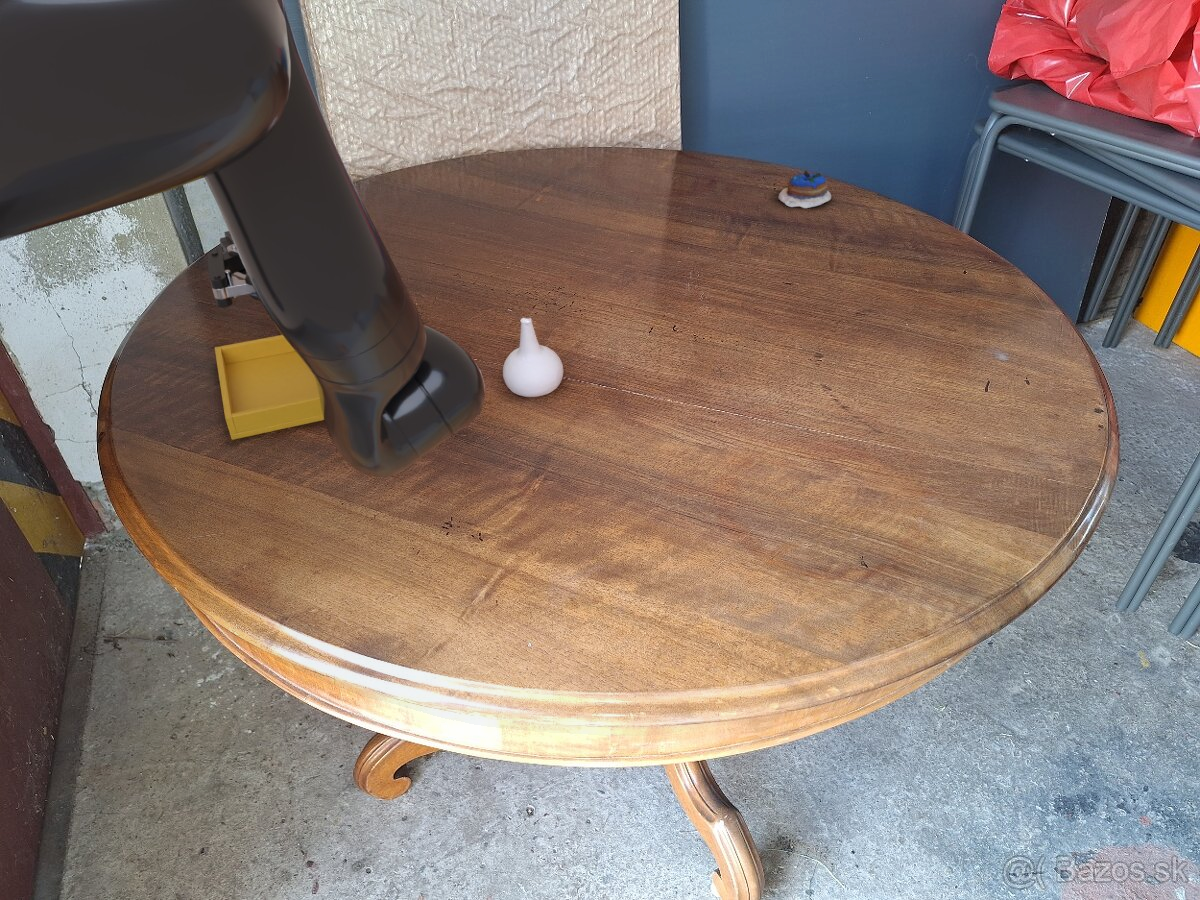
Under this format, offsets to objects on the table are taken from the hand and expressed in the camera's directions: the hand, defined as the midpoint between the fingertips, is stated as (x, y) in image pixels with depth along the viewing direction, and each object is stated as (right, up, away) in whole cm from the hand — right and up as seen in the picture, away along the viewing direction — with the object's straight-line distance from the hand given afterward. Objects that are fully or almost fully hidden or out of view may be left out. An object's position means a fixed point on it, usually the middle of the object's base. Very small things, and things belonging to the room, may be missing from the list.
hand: (263, 234), depth 82 cm
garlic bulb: (+24, -13, +12) cm, 30 cm away
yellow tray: (-1, -13, +12) cm, 18 cm away
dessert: (+62, +18, +54) cm, 84 cm away
